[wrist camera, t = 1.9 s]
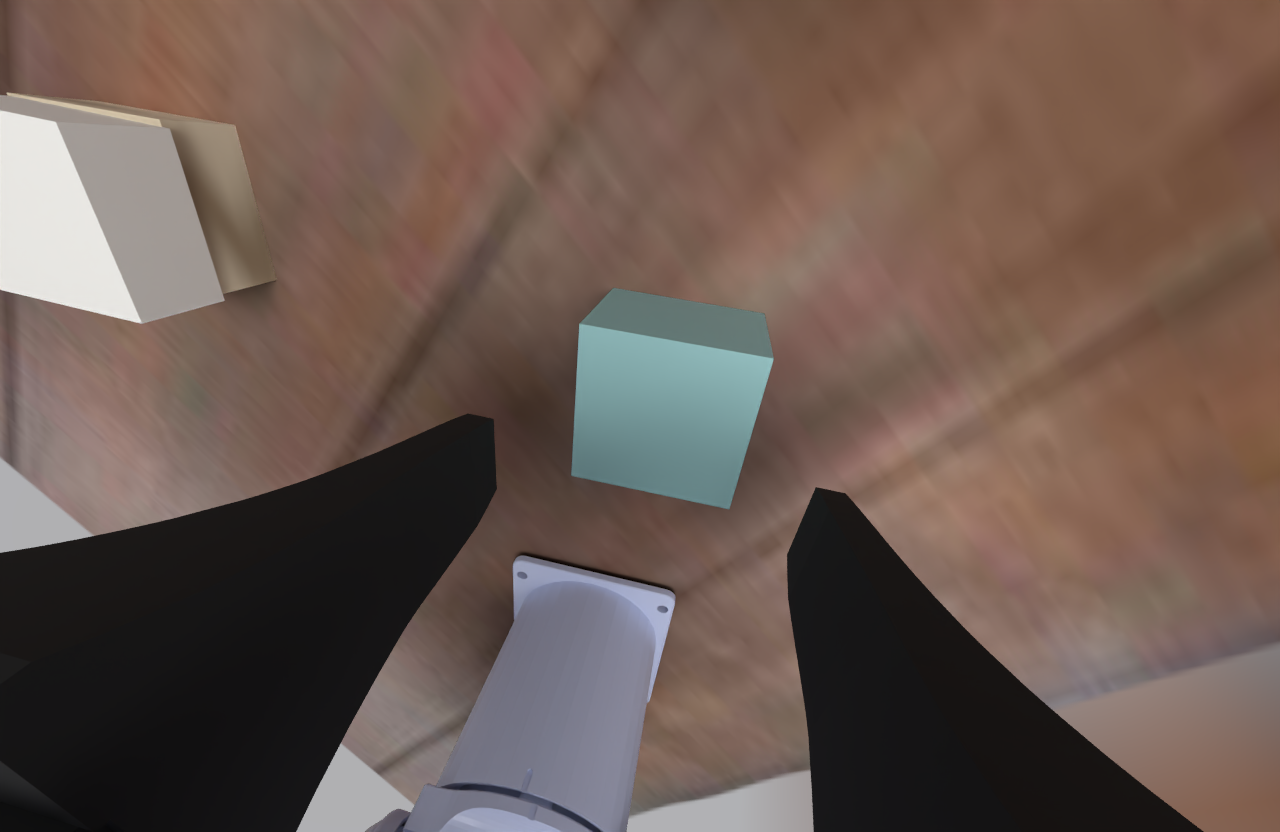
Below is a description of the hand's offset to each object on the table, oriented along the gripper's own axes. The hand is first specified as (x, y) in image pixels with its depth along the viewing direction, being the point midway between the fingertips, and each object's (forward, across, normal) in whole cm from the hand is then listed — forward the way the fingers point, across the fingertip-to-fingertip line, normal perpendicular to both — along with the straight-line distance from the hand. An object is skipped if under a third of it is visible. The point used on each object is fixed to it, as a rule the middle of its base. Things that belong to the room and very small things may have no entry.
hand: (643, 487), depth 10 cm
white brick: (+5, +18, -3) cm, 19 cm away
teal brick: (+7, 0, 0) cm, 7 cm away
